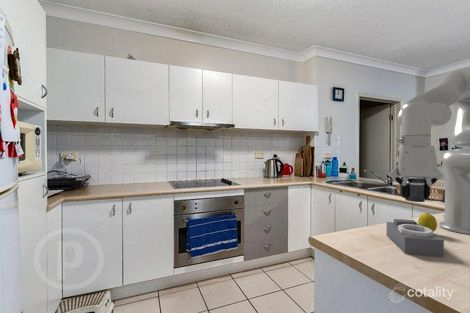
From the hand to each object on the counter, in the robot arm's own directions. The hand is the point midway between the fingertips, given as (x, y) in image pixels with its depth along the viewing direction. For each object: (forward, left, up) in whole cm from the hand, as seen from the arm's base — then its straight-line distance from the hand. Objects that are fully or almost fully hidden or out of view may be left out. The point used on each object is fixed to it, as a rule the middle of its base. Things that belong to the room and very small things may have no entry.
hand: (414, 197), depth 77 cm
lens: (0, 0, -1) cm, 1 cm away
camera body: (-2, 0, -16) cm, 16 cm away
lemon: (-15, +10, -16) cm, 25 cm away
